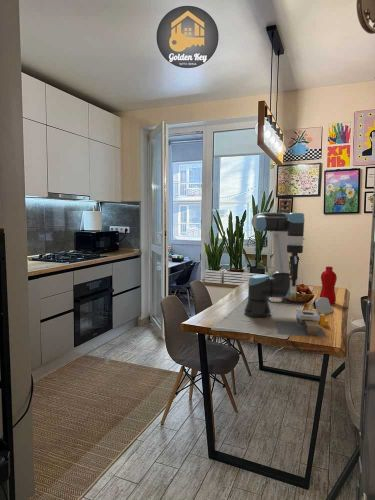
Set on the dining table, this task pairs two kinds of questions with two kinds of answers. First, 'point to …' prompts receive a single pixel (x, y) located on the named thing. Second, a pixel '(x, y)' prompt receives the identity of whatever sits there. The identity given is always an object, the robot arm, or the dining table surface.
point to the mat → (293, 329)
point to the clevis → (308, 321)
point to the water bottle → (328, 284)
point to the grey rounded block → (322, 305)
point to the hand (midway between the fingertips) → (292, 291)
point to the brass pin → (292, 295)
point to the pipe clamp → (321, 319)
